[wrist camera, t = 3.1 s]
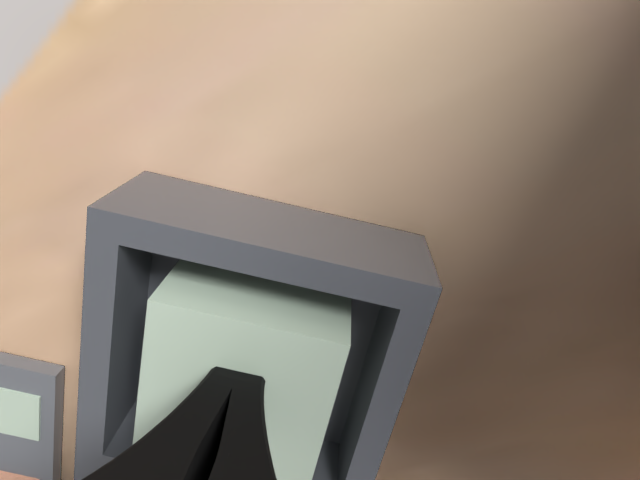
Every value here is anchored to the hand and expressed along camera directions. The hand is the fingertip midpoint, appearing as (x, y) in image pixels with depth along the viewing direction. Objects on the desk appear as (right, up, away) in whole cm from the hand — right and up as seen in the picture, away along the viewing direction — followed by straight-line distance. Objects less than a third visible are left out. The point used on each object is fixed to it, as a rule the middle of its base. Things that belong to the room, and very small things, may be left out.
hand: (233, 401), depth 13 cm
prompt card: (-9, -4, +6) cm, 12 cm away
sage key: (0, +1, +3) cm, 3 cm away
